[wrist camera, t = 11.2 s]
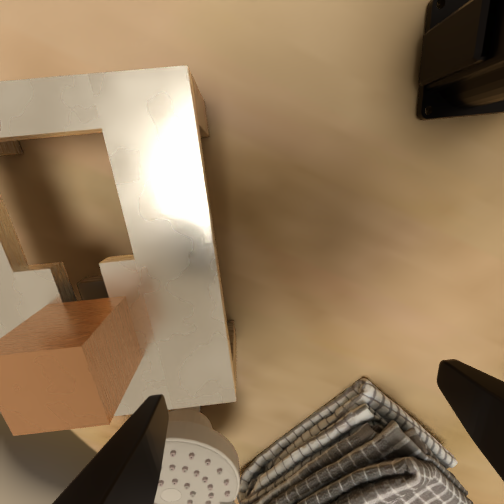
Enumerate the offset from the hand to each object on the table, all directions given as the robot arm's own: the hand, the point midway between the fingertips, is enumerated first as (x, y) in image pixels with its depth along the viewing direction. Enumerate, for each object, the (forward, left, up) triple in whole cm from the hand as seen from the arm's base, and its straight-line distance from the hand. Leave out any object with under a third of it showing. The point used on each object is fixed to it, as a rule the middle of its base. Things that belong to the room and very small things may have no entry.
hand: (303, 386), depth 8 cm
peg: (+10, +1, -10) cm, 14 cm away
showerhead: (+8, +14, -12) cm, 20 cm away
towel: (-7, +24, -12) cm, 27 cm away
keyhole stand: (+10, -2, -12) cm, 16 cm away
